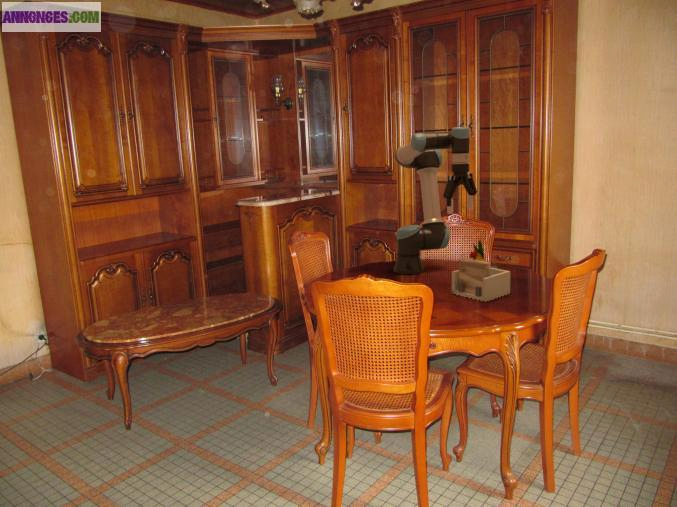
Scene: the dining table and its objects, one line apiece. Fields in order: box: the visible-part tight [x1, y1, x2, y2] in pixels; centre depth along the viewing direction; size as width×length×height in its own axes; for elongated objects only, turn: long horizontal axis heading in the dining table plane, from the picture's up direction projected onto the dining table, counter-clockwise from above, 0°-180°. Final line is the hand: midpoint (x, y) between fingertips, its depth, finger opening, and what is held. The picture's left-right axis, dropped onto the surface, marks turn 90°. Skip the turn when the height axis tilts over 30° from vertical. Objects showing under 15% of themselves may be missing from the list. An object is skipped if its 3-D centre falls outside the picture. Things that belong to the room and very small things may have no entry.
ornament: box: [469, 239, 487, 262], centre depth 292 cm, size 21×8×15 cm, turn 0°
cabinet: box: [451, 268, 511, 303], centre depth 250 cm, size 17×18×10 cm
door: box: [458, 257, 492, 296], centre depth 246 cm, size 5×14×14 cm, turn 39°
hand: (460, 211), depth 255 cm, fingers open, 13 cm apart
